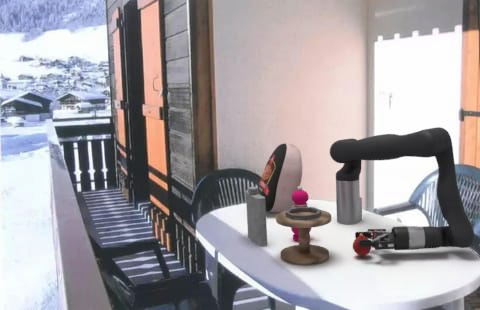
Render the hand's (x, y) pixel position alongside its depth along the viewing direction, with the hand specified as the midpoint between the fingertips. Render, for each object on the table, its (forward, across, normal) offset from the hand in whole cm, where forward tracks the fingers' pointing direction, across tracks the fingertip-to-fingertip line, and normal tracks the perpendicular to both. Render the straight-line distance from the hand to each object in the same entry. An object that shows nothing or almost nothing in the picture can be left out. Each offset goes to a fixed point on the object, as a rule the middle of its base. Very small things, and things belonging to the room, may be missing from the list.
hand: (357, 239), depth 179 cm
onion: (-2, 0, +6) cm, 6 cm away
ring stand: (+17, -2, +6) cm, 18 cm away
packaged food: (+24, -61, +6) cm, 66 cm away
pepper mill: (+17, -20, +6) cm, 27 cm away
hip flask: (+34, -21, +6) cm, 40 cm away
